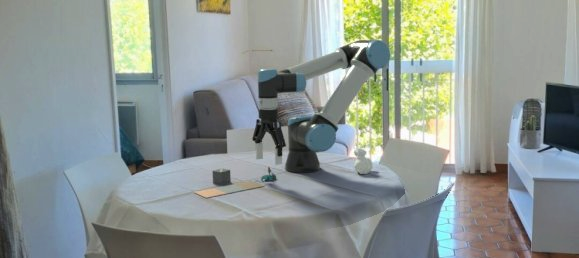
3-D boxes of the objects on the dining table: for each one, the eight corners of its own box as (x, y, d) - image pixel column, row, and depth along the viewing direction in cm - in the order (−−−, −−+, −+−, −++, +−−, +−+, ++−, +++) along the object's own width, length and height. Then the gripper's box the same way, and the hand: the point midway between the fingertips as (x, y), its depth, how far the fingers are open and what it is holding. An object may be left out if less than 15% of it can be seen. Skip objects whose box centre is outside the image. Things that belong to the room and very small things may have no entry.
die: (221, 180, 231) (221, 168, 230) (230, 182, 228) (230, 169, 227) (213, 182, 227) (212, 170, 226) (221, 184, 224) (221, 172, 223)
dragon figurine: (273, 182, 223) (279, 170, 229) (256, 175, 223) (262, 163, 230) (269, 193, 227) (275, 181, 233) (252, 187, 227) (259, 175, 234)
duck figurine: (368, 174, 244) (354, 152, 246) (381, 165, 240) (366, 143, 242) (355, 180, 234) (340, 157, 237) (368, 171, 230) (353, 148, 232)
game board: (251, 181, 227) (251, 180, 227) (264, 186, 219) (264, 185, 219) (193, 192, 213) (193, 191, 213) (206, 198, 205) (206, 197, 205)
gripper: (243, 106, 230) (244, 157, 233) (278, 112, 210) (279, 168, 213) (258, 105, 235) (259, 155, 238) (294, 110, 215) (295, 165, 218)
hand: (268, 161), depth 226 cm, fingers open, 13 cm apart
